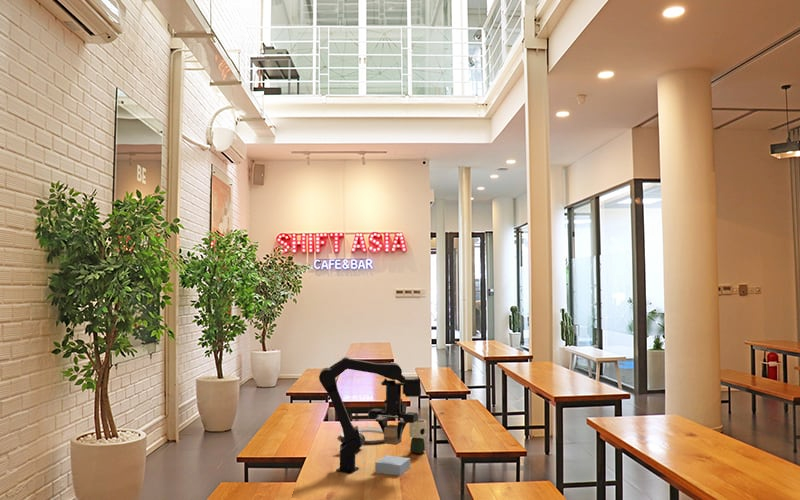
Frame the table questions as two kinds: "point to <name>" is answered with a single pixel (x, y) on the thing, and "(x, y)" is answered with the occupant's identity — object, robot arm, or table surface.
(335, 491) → the table surface
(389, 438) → the walnut block
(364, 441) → the end cap
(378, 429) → the plate
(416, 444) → the character mug
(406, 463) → the slate block
